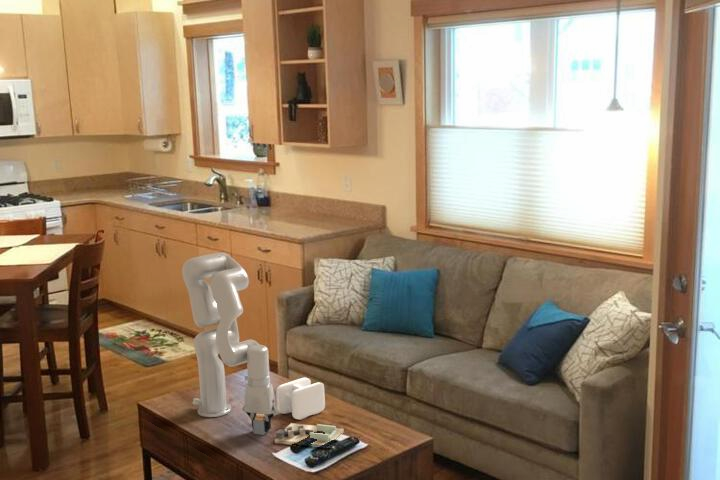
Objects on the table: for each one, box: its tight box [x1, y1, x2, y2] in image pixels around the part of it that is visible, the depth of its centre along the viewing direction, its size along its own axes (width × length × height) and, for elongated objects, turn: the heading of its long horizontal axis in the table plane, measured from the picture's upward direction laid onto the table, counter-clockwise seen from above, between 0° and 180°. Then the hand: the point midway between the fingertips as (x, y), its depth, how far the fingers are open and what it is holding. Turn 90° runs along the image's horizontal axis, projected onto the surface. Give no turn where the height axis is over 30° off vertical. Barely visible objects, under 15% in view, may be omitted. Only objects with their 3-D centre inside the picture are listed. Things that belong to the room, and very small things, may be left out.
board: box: [274, 422, 344, 446], centre depth 271 cm, size 20×14×4 cm
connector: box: [252, 414, 270, 436], centre depth 277 cm, size 4×4×6 cm
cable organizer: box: [275, 376, 326, 421], centre depth 292 cm, size 15×11×12 cm
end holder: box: [310, 423, 337, 441], centre depth 270 cm, size 7×8×2 cm
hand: (261, 429), depth 278 cm, fingers closed on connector, 3 cm apart
